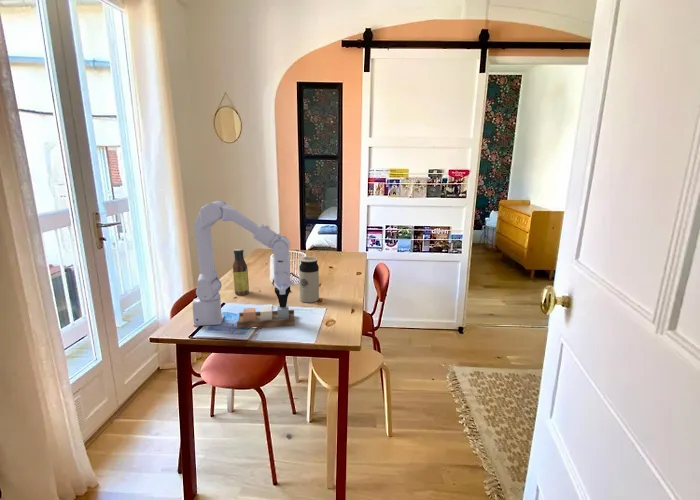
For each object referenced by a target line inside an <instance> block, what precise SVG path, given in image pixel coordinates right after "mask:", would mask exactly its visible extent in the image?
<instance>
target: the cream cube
mask: <svg viewBox="0 0 700 500" xmlns="http://www.w3.org/2000/svg"><path fill="white" fill-rule="evenodd" d="M272 311H273V306H272V307H271V306H270V307H269V306H268V307H267V306H266V307H260V310H259V312H260V315H261V320H272Z"/></svg>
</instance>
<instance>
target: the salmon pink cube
mask: <svg viewBox="0 0 700 500" xmlns="http://www.w3.org/2000/svg"><path fill="white" fill-rule="evenodd" d="M256 312H257V311H256V308H255V307H252V308H251V307H250V308H243V321H255V318H256Z"/></svg>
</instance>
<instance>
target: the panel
mask: <svg viewBox="0 0 700 500" xmlns="http://www.w3.org/2000/svg"><path fill="white" fill-rule="evenodd" d="M255 312H256V318H255V321H243V312H239V314H238V315H239V316H238V319H237V321H236V329H237V330H241V329H240V328H249V329H253V328H252V327H257V328H256V329H261V328H276V327H277V328H279V327H280V326H282V327H296V322H295V320H296V318H295V309H289V319H278V312H277V310H272V320H261V315H260V311H255Z"/></svg>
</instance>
